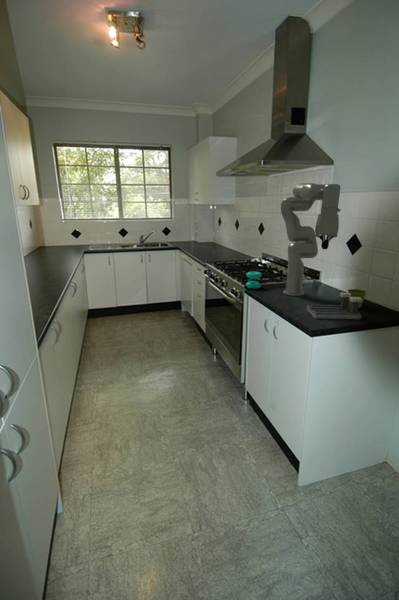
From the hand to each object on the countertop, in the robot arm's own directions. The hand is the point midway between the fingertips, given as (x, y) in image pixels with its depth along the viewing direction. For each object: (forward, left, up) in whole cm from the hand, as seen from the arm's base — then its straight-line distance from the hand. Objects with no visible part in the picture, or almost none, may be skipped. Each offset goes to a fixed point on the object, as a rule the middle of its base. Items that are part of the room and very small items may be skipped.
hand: (324, 248), depth 158 cm
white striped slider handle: (+4, +12, -30) cm, 32 cm away
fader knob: (+12, +14, -30) cm, 35 cm away
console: (+8, +5, -32) cm, 33 cm away
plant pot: (-5, +22, -32) cm, 39 cm away
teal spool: (-45, -28, -32) cm, 62 cm away
